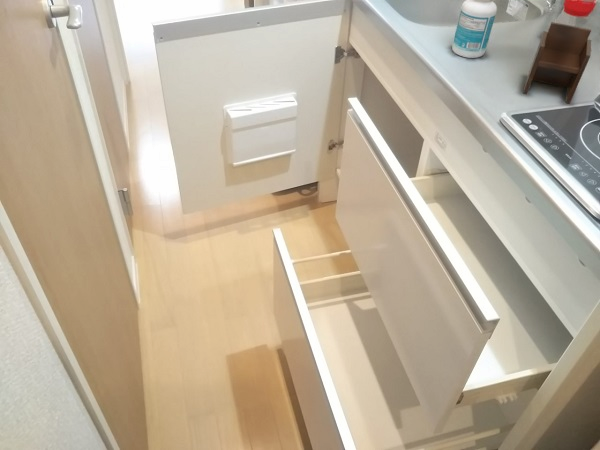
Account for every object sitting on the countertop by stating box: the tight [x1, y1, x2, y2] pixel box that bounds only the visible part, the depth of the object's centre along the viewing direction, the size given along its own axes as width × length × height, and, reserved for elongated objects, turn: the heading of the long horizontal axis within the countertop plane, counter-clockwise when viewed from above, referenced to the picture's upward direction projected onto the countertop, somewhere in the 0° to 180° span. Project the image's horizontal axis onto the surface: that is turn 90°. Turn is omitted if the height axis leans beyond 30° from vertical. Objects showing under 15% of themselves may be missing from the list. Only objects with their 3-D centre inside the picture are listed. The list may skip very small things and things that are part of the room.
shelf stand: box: [522, 21, 592, 105], centre depth 103 cm, size 9×8×12 cm
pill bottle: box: [451, 0, 498, 59], centre depth 114 cm, size 8×7×14 cm
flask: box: [546, 7, 577, 32], centre depth 123 cm, size 7×7×10 cm
